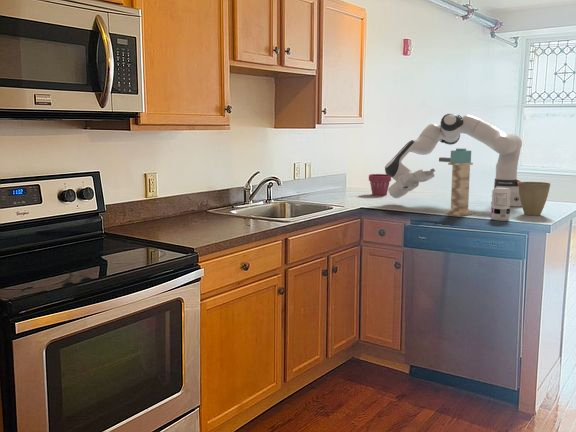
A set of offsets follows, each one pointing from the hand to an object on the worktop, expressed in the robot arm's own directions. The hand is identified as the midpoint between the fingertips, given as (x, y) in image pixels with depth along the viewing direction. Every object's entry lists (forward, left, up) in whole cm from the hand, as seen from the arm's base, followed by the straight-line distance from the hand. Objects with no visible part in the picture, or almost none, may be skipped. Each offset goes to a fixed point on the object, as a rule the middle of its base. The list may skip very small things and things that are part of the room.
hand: (427, 170), depth 309 cm
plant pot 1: (+36, -52, -21) cm, 66 cm away
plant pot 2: (-52, +2, -21) cm, 56 cm away
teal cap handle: (-14, +9, +5) cm, 17 cm away
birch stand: (-17, +12, -21) cm, 30 cm away
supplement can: (-37, +22, -21) cm, 48 cm away
